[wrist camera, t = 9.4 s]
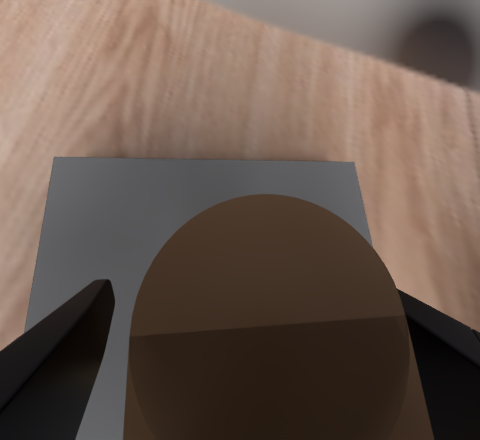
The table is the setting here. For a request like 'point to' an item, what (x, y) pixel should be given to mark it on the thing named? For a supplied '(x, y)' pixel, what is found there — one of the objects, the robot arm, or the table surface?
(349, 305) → the walnut peg
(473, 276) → the table surface
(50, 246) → the hub plate
